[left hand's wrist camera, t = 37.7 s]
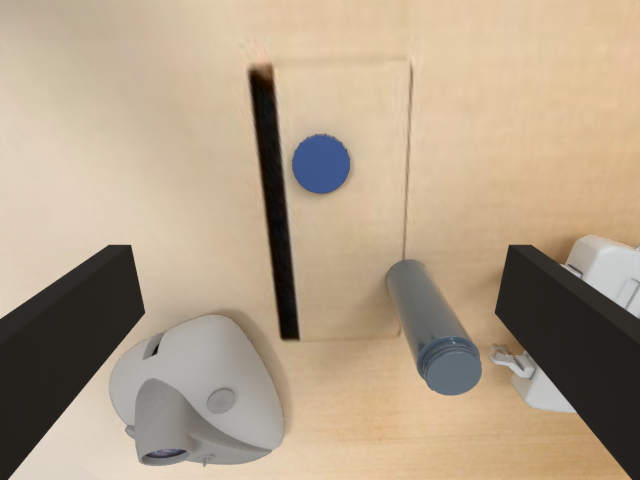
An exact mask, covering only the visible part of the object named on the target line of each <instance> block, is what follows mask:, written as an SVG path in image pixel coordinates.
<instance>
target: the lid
mask: <svg viewBox="0 0 640 480" xmlns="http://www.w3.org/2000/svg"><path fill="white" fill-rule="evenodd" d="M349 160H350V158H349V156H348V153H347V149H345V148H344V146H343V145H342V142H340V141H338V140H337V139H336V138H335V137H334V136H333V137H332V136H329V135H326V134H325V135H324V134H318V135H317V134H316V135H313V136H311V137H307V139H305V140H304V141H303V142H302V143H300V145H299V146H298V148H297V150H295V154H294V158H293V160H292V161H293V172H294V175H295V177H296V179H297V181H298V182H299V183H300V184H301V185H302V186H303V187H304V188H305V189H307V190H309V191H311V192H315V193H328V192H331V191H333V190H335V189H337V188H338V187H340V186H341V185H342V184H343V182H344V181H345V179H346V178H347V175H348V173H349V169H350V161H349Z"/></svg>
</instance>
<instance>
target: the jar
mask: <svg viewBox="0 0 640 480" xmlns="http://www.w3.org/2000/svg"><path fill="white" fill-rule="evenodd" d="M386 284H387V288H388V290H389V293H390V296H391V299H392V301H393V304H394V307H395V310H396V312H397V315H398V318H399V321H400V324H401V326H402V329H403V332H404V335H405V337H406V340H407V343H408V346H409V349H410V351H411V354H412V357H413V360H414V362H415V365H416V368H417V371H418V373H419V375H420V376H421V377H422V378H423V379H424V380H425V381H426V383H427V385H428V387H429V388H430V389H431V390H432V391H433V390H434V391H436V392H437V393H439V394H443V395H459V394H462V393H465V392H467V391H469V390H470V389H472V388H473V387H474V386H475V385H476V384H477V383H478V381H479V380H480V377H481V374H482V368H481V362H480V355H479V351H478V349H477V347H476V345H475V344H474V342H473V340H472V339H471V337H470V336H469V334H468V333H467V331H466V329H465V328H464V326H463V325H462V323H461V322H460V320H459V318H458V317H457V315H456V314H455V312H454V311H453V309H452V307H451V306H450V304H449V303H448V301H447V300H446V298H445V296H444V295H443V293H442V292H441V290H440V289H439V287H438V285H437V284H436V282H435V281H434V279H433V278H432V276H431V274H430V273H429V271H428V270H427V268H426V267H425V266H424V265H423V264H422V263H420V262H418V261H415V260H404V261H401V262H398V263H397V264H395V265H394V266H393V267H392V268H391V269H390V270H389V272H388V274H387V277H386Z"/></svg>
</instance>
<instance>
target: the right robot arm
mask: <svg viewBox="0 0 640 480" xmlns="http://www.w3.org/2000/svg"><path fill="white" fill-rule="evenodd" d="M560 265H561V266H563V267H564V268H566V269H567V270H569V271H570V272H571V273H573V274H574V275H576V276H577V277H579V278H580V279H582V280H583V281H585V282H586V283H588V284H589V285H590V286H592V287H593V288H595V289H596V290H598V291H599V292H601V293H602V294H604V295H605V296H607V297H608V298H609V299H611V300H612V301H614V302H615V303H617V304H618V305H620V306H621V307H623V308H624V309H626V310H627V311H628V312H630V313H631V314H633V315H634V316H636V317H637V318H639V319H640V244H639V245H636V246H634V247H631V246H628V245H626V244H623V243H621V242H618V241H615V240H612V239H609V238H605V237H601V236H597V235H591V234H590V235H586V236H584V237H582V238H579V239H577V241H576V242H575V244H574V246H573V248H572V250H571V252H570V255H569V257H568V259H567V261H566V263H565V265H563V264H560ZM488 357H489V358H490V360H491V361H492V362H493V363H494V364H497V365H504V366H508V367H509V368H510V369H511V370H513V371H514V374H513V376H512V378H511V383H512V385H513V387H514V388H515V390H516V392H517V393H518V395H519V396H520V397H521V399H522V400H523V401H524V402H525V403H526V404H527V405H528V406H530V407H532V408H535V409H540V410H547V411H555V412H567V413H577V412H576V411H575V410H574V409H573V407H572V406H571V405H570V404H569V402H568V401H567V400H566V399H565V398H564V396H563V395H562V394H561V393H560V392H559V390H558V389H557V388H556V387H555V385H554V384H553V383H552V382H551V381H550V379H549V378H548V377H547V376H546V374H545V373H544V372H543V371H542V370H541V368H540V367H539V366H538V365H537V364H536V362H535V361H534V360H533V359H532V357H531V356H530V355H529V354H528V353H527V351H526V350H524V353H523V355H515V357H514V358H515V359H513V355H512V353H511V352H509V350H508V348H507V347H506V345H501V344H500V345H497V344H492V346H491V348H490V350H489V353H488Z"/></svg>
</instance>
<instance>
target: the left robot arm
mask: <svg viewBox="0 0 640 480" xmlns="http://www.w3.org/2000/svg"><path fill="white" fill-rule="evenodd" d="M144 314H145V309H144V305H143V300H142V295H141V290H140V286H139V281H138V276H137V271H136V266H135V262H134V257H133V252H132V247H131V245H108V246H107V247H105V248H104V249H102V250H101V251H99V252H98V253H96V254H95V255H93V256H92V257H90V258H89V259H88V260H86V261H85V262H83V263H82V264H80V265H79V266H77V267H76V268H74V269H73V270H71V271H70V272H69V273H67V274H66V275H64V276H63V277H61V278H60V279H58V280H57V281H55V282H54V283H52V284H51V285H50V286H48V287H47V288H45V289H44V290H42V291H41V292H39V293H38V294H36V295H35V296H33V297H32V298H31V299H29V300H28V301H26V302H25V303H23V304H22V305H20V306H19V307H17V308H16V309H14V310H13V311H11V312H10V313H9V314H7V315H6V316H4V317H3V318H1V319H0V480H8V479H9V478H10V476H11V475H12V474H13V473H14V472H15V470H16V469H17V468H18V467H19V466H20V464H21V463H22V462H23V461H24V460H25V458H26V457H27V456H28V455H29V453H30V452H31V451H32V450H33V449H34V447H35V446H36V445H37V444H38V442H39V441H40V440H41V439H42V438H43V436H44V435H45V434H46V433H47V432H48V430H49V429H50V428H51V427H52V426H53V424H54V423H55V422H56V421H57V419H58V418H59V417H60V416H61V415H62V413H63V412H64V411H65V410H66V409H67V407H68V406H69V405H70V404H71V402H72V401H73V400H74V399H75V398H76V396H77V395H78V394H79V393H80V392H81V390H82V389H83V388H84V387H85V385H86V384H87V383H88V382H89V381H90V379H91V378H92V377H93V376H94V374H95V373H96V372H97V371H98V370H99V368H100V367H101V366H102V365H103V364H104V362H105V361H106V360H107V359H108V357H109V356H110V355H111V354H112V353H113V351H114V350H115V349H116V348H117V347H118V345H119V344H120V343H121V342H122V340H123V339H124V338H125V337H126V336H127V334H128V333H129V332H130V331H131V330H132V328H133V327H134V326H135V325H136V323H137V322H138V321H139V320H140V319H141V317H142V316H143V315H144ZM495 314H496V315H497V316H498V317H499V319H500V320H501V321H502V322H503V323H504V325H505V326H506V327H507V328H508V330H509V331H510V332H511V333H512V334H513V336H514V337H515V338H516V339H517V340H518V342H519V343H520V344H521V345H522V347H523V348H524V349H525V350H526V351H527V353H528V354H529V355H530V356H531V357H532V359H533V360H534V361H535V362H536V364H537V365H538V366H539V367H540V368H541V370H542V371H543V372H544V373H545V374H546V376H547V377H548V378H549V379H550V381H551V382H552V383H553V384H554V385H555V387H556V388H557V389H558V390H559V392H560V393H561V394H562V395H563V396H564V398H565V399H566V400H567V401H568V402H569V404H570V405H571V406H572V407H573V409H574V410H575V411H576V412H577V413H578V415H579V416H580V417H581V418H582V419H583V421H584V422H585V423H586V424H587V426H588V427H589V428H590V429H591V430H592V432H593V433H594V434H595V435H596V436H597V438H598V439H599V440H600V441H601V443H602V444H603V445H604V446H605V447H606V449H607V450H608V451H609V452H610V453H611V455H612V456H613V457H614V458H615V460H616V461H617V462H618V463H619V464H620V466H621V467H622V468H623V469H624V470H625V472H626V473H627V474H628V475H629V477H630V478H631V479H632V480H640V319H639V318H637V317H636V316H634V315H633V314H631V313H630V312H628V311H627V310H626V309H624V308H623V307H621V306H620V305H618V304H617V303H615V302H614V301H612V300H611V299H609V298H608V297H607V296H605V295H604V294H602V293H601V292H599V291H598V290H596V289H595V288H593V287H592V286H590V285H589V284H588V283H586V282H585V281H583V280H582V279H580V278H579V277H577V276H576V275H574V274H573V273H571V272H570V271H569V270H567V269H566V268H564V267H563V266H561V265H560V264H558V263H557V262H555V261H554V260H552V259H551V258H550V257H548V256H547V255H545V254H544V253H542V252H541V251H539V250H538V249H536V248H535V247H533V246H532V245H509V247H508V252H507V257H506V262H505V266H504V271H503V276H502V281H501V286H500V290H499V295H498V300H497V305H496V309H495Z"/></svg>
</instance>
